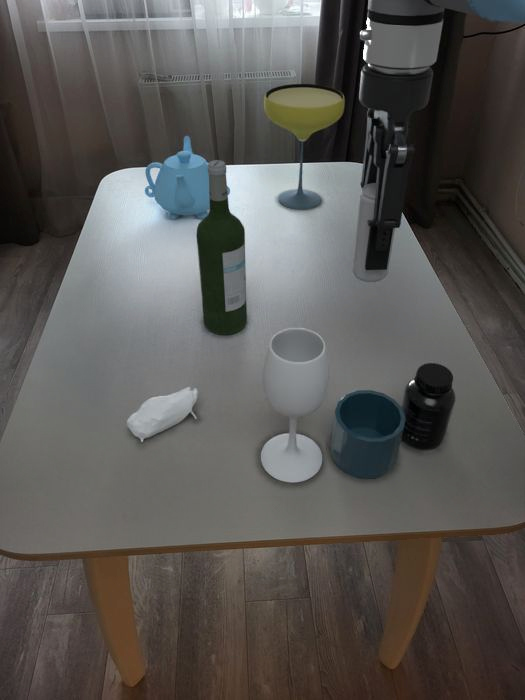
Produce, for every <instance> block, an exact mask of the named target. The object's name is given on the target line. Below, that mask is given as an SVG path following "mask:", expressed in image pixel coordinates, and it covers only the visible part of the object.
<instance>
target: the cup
mask: <svg viewBox="0 0 525 700" xmlns="http://www.w3.org/2000/svg"><path fill="white" fill-rule="evenodd" d="M401 406H402V405H400V403H398V402H397V400H395V398H393V397H391V396H389V395H388V394H385V393H383V392H381V391H376V390H371V389H361V390H355V391H351V392H349V393H346V394H345V395H344V396H342V397H341V398H340V399H339V400H338V401H337V403H336V406H335V409H334V416H333V422H332V423H333V424H332V432H331V439H330V440H331V441H330V454H331V459H332V460H333V462H334V464H335V465H336V467H338V468H339V469H340V470H341V471H342V472H344V473H345V474H347V475H349V476H351V477H354V478H357V479H362V480H373V479H378V478H381V477H383V476H385V475H387V474H388V473H389V472H390V471H391V470H392V469H393V468H394V466H395V465H396V461H397V456H398V454H399V453H398V452H399V449H400V445H401V441H402V439H401V437H402V433H403V429H404V425H405V420H406V418H405V414H404V411H403V408H402V407H401Z"/></svg>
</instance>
